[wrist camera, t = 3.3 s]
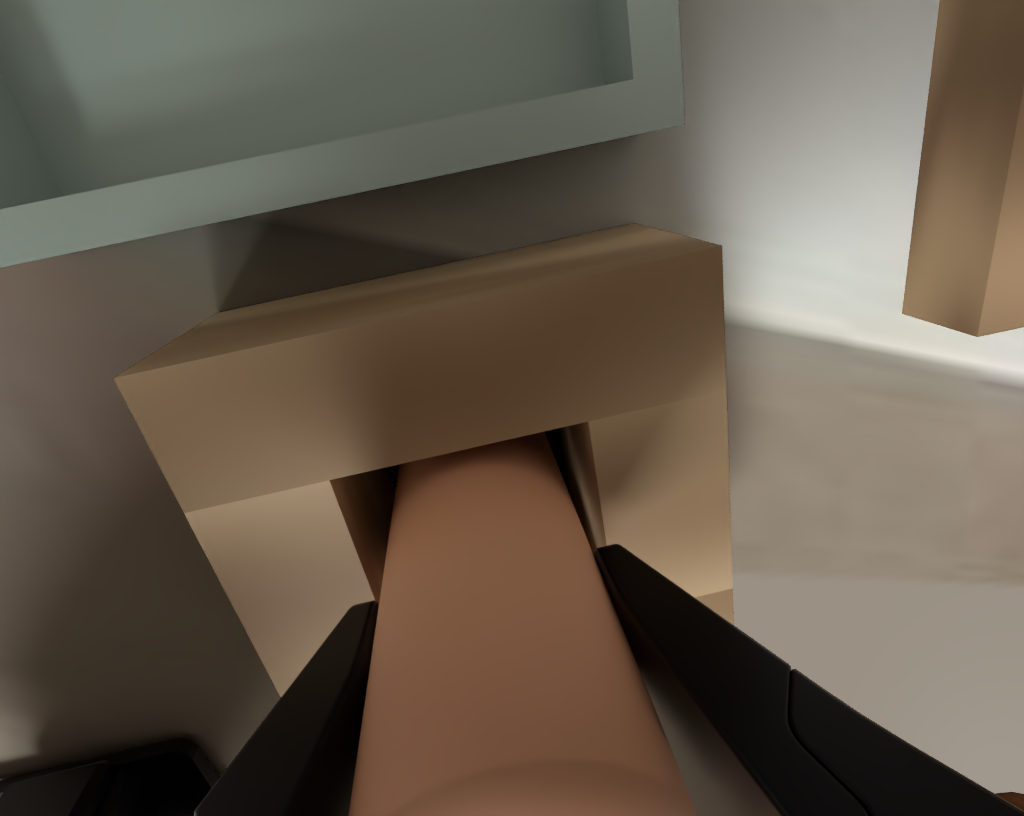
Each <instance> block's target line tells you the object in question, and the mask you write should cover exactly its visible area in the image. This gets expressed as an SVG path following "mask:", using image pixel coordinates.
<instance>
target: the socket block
mask: <svg viewBox="0 0 1024 816" xmlns="http://www.w3.org/2000/svg"><path fill="white" fill-rule="evenodd" d="M113 379H114V381H115V383H116V385H117V387H118V389H119V391H120V393H121V394H122V396H123V398H124V400H125V402H126V404H127V406H128V408H129V410H130V412H131V413H132V415H133V417H134V419H135V421H136V423H137V425H138V427H139V429H140V431H141V433H142V434H143V436H144V438H145V440H146V442H147V444H148V446H149V448H150V450H151V452H152V453H153V455H154V457H155V459H156V461H157V463H158V465H159V467H160V469H161V471H162V472H163V474H164V476H165V478H166V480H167V482H168V484H169V486H170V488H171V490H172V492H173V493H174V495H175V497H176V499H177V501H178V503H179V505H180V507H181V509H182V511H183V512H184V514H185V516H186V518H187V520H188V522H189V524H190V526H191V528H192V530H193V532H194V533H195V535H196V537H197V539H198V541H199V543H200V545H201V547H202V549H203V551H204V552H205V554H206V556H207V558H208V560H209V562H210V564H211V566H212V568H213V570H214V572H215V573H216V575H217V577H218V579H219V581H220V583H221V585H222V587H223V589H224V591H225V592H226V594H227V596H228V598H229V600H230V602H231V604H232V606H233V608H234V610H235V612H236V613H237V615H238V617H239V619H240V621H241V623H242V625H243V627H244V629H245V631H246V632H247V634H248V636H249V638H250V640H251V642H252V644H253V646H254V648H255V650H256V651H257V653H258V655H259V657H260V659H261V661H262V663H263V665H264V667H265V669H266V671H267V672H268V674H269V676H270V678H271V680H272V682H273V684H274V686H275V688H276V690H277V691H278V693H279V695H280V697H282V696H283V694H284V693H285V692H286V691H287V689H288V688H289V687H290V685H291V684H292V683H293V681H294V680H295V679H296V677H297V676H298V675H299V674H300V672H301V671H302V670H303V668H304V667H305V666H306V664H307V663H308V662H309V660H310V659H311V658H312V657H313V655H314V654H315V653H316V651H317V650H318V649H319V647H320V646H321V645H322V643H323V642H324V641H325V640H326V638H327V637H328V636H329V634H330V633H331V632H332V630H333V629H334V628H335V626H336V625H337V624H338V623H339V621H340V620H341V619H342V617H343V616H344V615H345V613H346V612H347V611H348V609H349V608H350V607H352V606H353V605H356V604H360V603H364V602H369V601H373V600H375V601H377V602H378V603H379V601H380V594H381V587H382V580H383V573H384V566H385V559H386V552H387V545H388V539H389V532H390V525H391V518H392V511H393V504H394V497H395V491H394V488H393V485H392V482H391V479H390V476H389V473H388V470H387V467H390V466H394V465H399V464H403V463H407V462H412V461H416V460H421V459H425V458H430V457H434V456H438V455H443V454H447V453H452V452H456V451H460V450H465V449H469V448H474V447H478V446H482V445H487V444H491V443H496V442H500V441H504V440H509V439H513V438H518V437H522V436H526V435H531V434H535V433H540V432H544V431H548V430H553V429H557V428H559V431H560V436H561V442H562V448H563V454H564V459H565V465H566V471H567V477H568V483H569V488H570V494H571V500H572V502H573V505H574V507H575V510H576V512H577V515H578V517H579V520H580V522H581V525H582V527H583V530H584V532H585V535H586V537H587V540H588V542H589V545H590V547H591V550H592V552H593V555H594V551H595V549H596V548H599V547H603V546H607V545H612V544H619V545H621V546H623V547H624V548H626V549H627V550H628V551H630V552H631V553H633V554H634V555H635V556H637V557H638V558H640V559H641V560H642V561H644V562H645V563H647V564H648V565H650V566H651V567H652V568H654V569H655V570H657V571H658V572H659V573H661V574H662V575H664V576H665V577H666V578H668V579H669V580H671V581H672V582H673V583H675V584H676V585H678V586H679V587H681V588H682V589H683V590H685V591H686V592H688V593H689V594H690V595H692V596H693V597H695V598H696V599H697V600H699V601H700V602H702V603H703V604H704V605H706V606H707V607H709V608H710V609H712V610H713V611H714V612H716V613H717V614H719V615H720V616H721V617H723V618H724V619H726V620H727V621H728V622H730V623H731V624H733V625H734V611H733V579H732V548H731V516H730V484H729V453H728V421H727V390H726V358H725V327H724V295H723V264H722V246H721V245H717V244H713V243H709V242H705V241H702V240H698V239H694V238H690V237H686V236H682V235H678V234H674V233H670V232H666V231H663V230H659V229H655V228H651V227H647V226H643V225H639V224H635V223H634V224H629V225H624V226H620V227H615V228H610V229H606V230H601V231H596V232H592V233H587V234H582V235H578V236H573V237H568V238H564V239H559V240H554V241H550V242H545V243H541V244H536V245H531V246H527V247H522V248H517V249H513V250H508V251H503V252H499V253H494V254H489V255H485V256H480V257H475V258H471V259H466V260H461V261H457V262H452V263H447V264H443V265H438V266H434V267H429V268H424V269H420V270H415V271H410V272H406V273H401V274H396V275H392V276H387V277H382V278H378V279H373V280H368V281H364V282H359V283H354V284H350V285H345V286H340V287H336V288H331V289H326V290H322V291H317V292H313V293H308V294H303V295H299V296H294V297H289V298H285V299H280V300H275V301H271V302H266V303H261V304H257V305H252V306H247V307H243V308H238V309H233V310H229V311H224V312H219V313H216V314H215V315H213V316H211V317H210V318H208V319H207V320H205V321H203V322H202V323H200V324H199V325H197V326H196V327H194V328H192V329H191V330H189V331H188V332H186V333H184V334H183V335H181V336H180V337H178V338H176V339H175V340H173V341H172V342H170V343H168V344H167V345H165V346H164V347H162V348H160V349H159V350H157V351H156V352H154V353H152V354H151V355H149V356H148V357H146V358H144V359H143V360H141V361H140V362H138V363H136V364H135V365H133V366H132V367H130V368H129V369H127V370H125V371H124V372H122V373H121V374H119V375H117V376H116V377H114V378H113Z"/></svg>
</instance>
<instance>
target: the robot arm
mask: <svg viewBox="0 0 1024 816" xmlns="http://www.w3.org/2000/svg"><path fill="white" fill-rule="evenodd" d="M594 558H595V560H596V563H597V565H598V568H599V570H600V573H601V575H602V578H603V580H604V583H605V585H606V588H607V590H608V593H609V595H610V598H611V600H612V603H613V605H614V608H615V610H616V613H617V615H618V618H619V620H620V623H621V625H622V628H623V630H624V632H625V635H626V637H627V640H628V642H629V645H630V647H631V650H632V652H633V655H634V657H635V660H636V662H637V665H638V667H639V670H640V672H641V675H642V677H643V680H644V682H645V685H646V687H647V690H648V692H649V695H650V697H651V700H652V702H653V705H654V708H655V710H656V713H657V715H658V718H659V720H660V723H661V725H662V728H663V730H664V733H665V735H666V738H667V740H668V743H669V745H670V748H671V750H672V753H673V755H674V758H675V760H676V763H677V765H678V768H679V770H680V773H681V775H682V778H683V780H684V783H685V785H686V788H687V790H688V793H689V795H690V798H691V800H692V803H693V805H694V808H695V810H696V813H697V815H698V816H1024V811H1023V810H1021V809H1019V808H1018V807H1016V806H1014V805H1013V804H1011V803H1009V802H1008V801H1006V800H1004V799H1002V798H1001V797H999V796H997V795H996V794H994V793H992V792H991V791H989V790H987V789H985V788H984V787H982V786H980V785H979V784H977V783H975V782H974V781H972V780H970V779H968V778H967V777H965V776H963V775H962V774H960V773H958V772H957V771H955V770H953V769H951V768H950V767H948V766H946V765H945V764H943V763H941V762H940V761H938V760H936V759H935V758H933V757H931V756H929V755H928V754H926V753H924V752H923V751H921V750H919V749H918V748H916V747H914V746H912V745H911V744H909V743H907V742H906V741H904V740H903V739H901V738H899V737H898V736H896V735H894V734H893V733H891V732H889V731H888V730H886V729H885V728H883V727H881V726H880V725H878V724H877V723H875V722H873V721H872V720H870V719H868V718H867V717H865V716H863V715H862V714H860V713H859V712H857V711H856V710H854V709H853V708H851V707H850V706H848V705H847V704H846V703H844V702H843V701H841V700H840V699H838V698H837V697H835V696H833V695H832V694H831V693H829V692H828V691H826V690H825V689H823V688H822V687H820V686H819V685H817V684H816V683H815V682H813V681H812V680H810V679H809V678H808V677H806V676H805V675H803V674H802V673H801V672H799V671H798V670H796V669H793V670H791V666H790V665H789V664H788V663H786V662H785V661H783V660H782V659H780V658H779V657H778V656H776V655H775V654H773V653H772V652H771V651H769V650H768V649H766V648H765V647H764V646H762V645H761V644H759V643H758V642H757V641H755V640H754V639H752V638H751V637H749V636H748V635H747V634H745V633H744V632H742V631H741V630H740V629H738V628H737V627H735V626H734V625H733V624H731V623H730V622H728V621H727V620H726V619H724V618H723V617H721V616H720V615H719V614H717V613H716V612H714V611H713V610H712V609H710V608H709V607H707V606H706V605H704V604H703V603H702V602H700V601H699V600H697V599H696V598H695V597H693V596H692V595H690V594H689V593H688V592H686V591H685V590H683V589H682V588H681V587H679V586H678V585H676V584H675V583H673V582H672V581H671V580H669V579H668V578H666V577H665V576H664V575H662V574H661V573H659V572H658V571H657V570H655V569H654V568H652V567H651V566H650V565H648V564H647V563H645V562H644V561H642V560H641V559H640V558H638V557H637V556H635V555H634V554H633V553H631V552H630V551H628V550H627V549H626V548H624V547H623V546H621V545H619V544H612V545H607V546H603V547H599V548H596V549H595V551H594ZM378 608H379V603H378V602H377V601H375V600H373V601H369V602H364V603H360V604H356V605H353V606H352V607H350V608H349V609H348V611H347V612H346V613H345V615H344V616H343V617H342V619H341V620H340V621H339V623H338V624H337V625H336V626H335V628H334V629H333V630H332V632H331V633H330V634H329V636H328V637H327V638H326V640H325V641H324V642H323V643H322V645H321V646H320V647H319V649H318V650H317V651H316V653H315V654H314V655H313V657H312V658H311V659H310V660H309V662H308V663H307V664H306V666H305V667H304V668H303V670H302V671H301V672H300V674H299V675H298V676H297V677H296V679H295V680H294V681H293V683H292V684H291V685H290V687H289V688H288V689H287V691H286V692H285V693H284V694H283V696H282V697H281V698H280V700H279V701H278V702H277V704H276V705H275V706H274V708H273V709H272V710H271V711H270V713H269V714H268V715H267V717H266V718H265V719H264V721H263V722H262V723H261V725H260V726H259V727H258V728H257V730H256V731H255V732H254V734H253V735H252V736H251V738H250V739H249V740H248V741H247V743H246V744H245V745H244V747H243V748H242V749H241V751H240V752H239V753H238V755H237V756H236V757H235V758H234V760H233V761H232V762H231V764H230V765H229V766H228V768H227V769H226V770H225V772H224V773H223V774H222V775H221V777H220V778H219V777H218V776H217V774H216V773H215V771H214V769H213V768H212V766H211V765H210V763H209V762H208V760H207V759H206V757H205V756H204V754H203V752H202V751H201V749H200V748H199V746H198V745H197V744H196V743H195V742H193V741H191V740H188V739H182V738H179V739H172V740H168V741H164V742H159V743H155V744H151V745H147V746H143V747H139V748H135V749H130V750H126V751H122V752H118V753H114V754H110V755H106V756H101V757H97V758H93V759H89V760H85V761H81V762H77V763H72V764H68V765H64V766H60V767H56V768H52V769H48V770H43V771H39V772H35V773H31V774H27V775H23V776H18V777H14V778H10V779H6V780H2V781H0V816H348V815H349V808H350V802H351V795H352V788H353V781H354V774H355V767H356V760H357V753H358V746H359V739H360V732H361V725H362V718H363V712H364V705H365V698H366V691H367V684H368V677H369V670H370V663H371V656H372V649H373V642H374V635H375V629H376V622H377V615H378Z"/></svg>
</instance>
